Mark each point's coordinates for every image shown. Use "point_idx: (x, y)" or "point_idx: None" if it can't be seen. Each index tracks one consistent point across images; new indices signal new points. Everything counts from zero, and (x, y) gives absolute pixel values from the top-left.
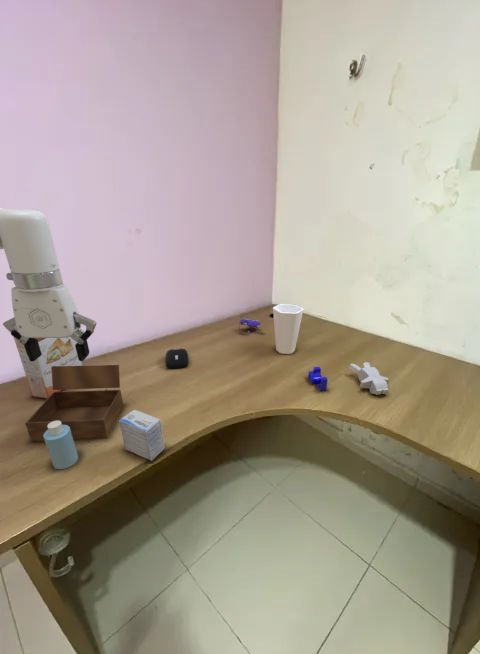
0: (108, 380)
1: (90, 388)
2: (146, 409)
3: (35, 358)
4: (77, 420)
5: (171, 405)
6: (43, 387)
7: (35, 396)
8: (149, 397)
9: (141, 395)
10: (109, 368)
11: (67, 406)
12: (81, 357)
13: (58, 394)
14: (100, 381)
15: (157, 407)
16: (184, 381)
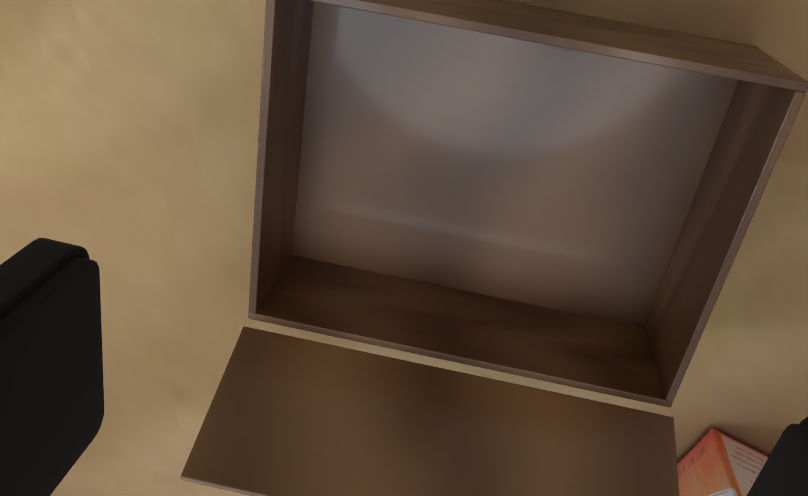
0: (297, 386)
1: (430, 366)
2: (150, 188)
3: (778, 472)
4: (446, 23)
5: (19, 188)
6: (746, 492)
7: None
8: (161, 295)
9: (210, 325)
10: (258, 466)
11: (594, 322)
12: (7, 271)
13: (638, 384)
14: (352, 393)
15: (93, 190)
16: None
